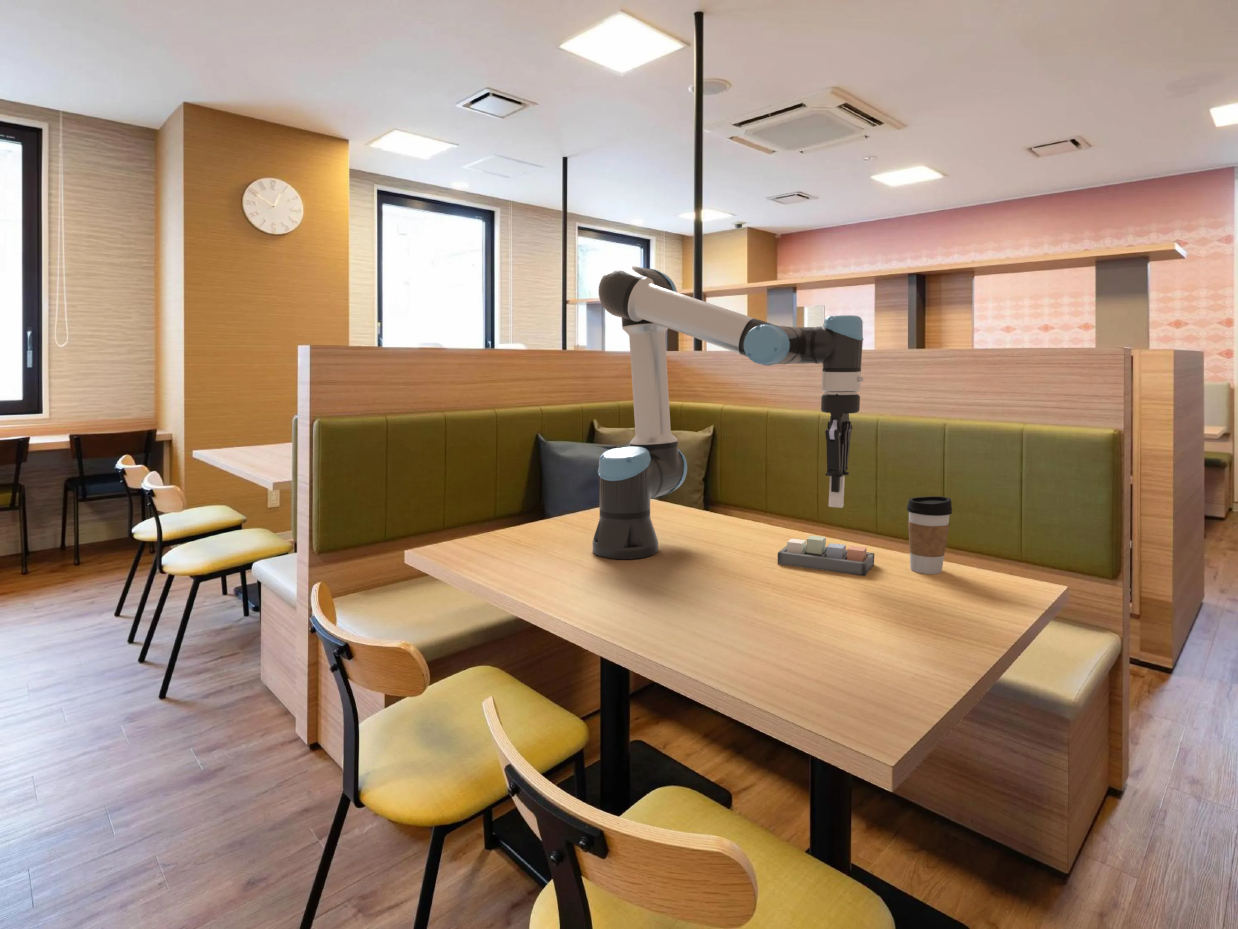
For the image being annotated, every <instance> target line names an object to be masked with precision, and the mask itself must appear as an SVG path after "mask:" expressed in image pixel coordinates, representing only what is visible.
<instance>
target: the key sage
mask: <svg viewBox="0 0 1238 929" xmlns="http://www.w3.org/2000/svg"><path fill="white" fill-rule="evenodd" d="M826 538H827V537H826V536H818V535H809V536H808V537H807V538H806V545H807V548H806V553H814V554H823V553H824V552H825V548H826V547H827V545H826V542H827V541H826Z"/></svg>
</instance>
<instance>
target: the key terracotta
mask: <svg viewBox="0 0 1238 929" xmlns="http://www.w3.org/2000/svg"><path fill="white" fill-rule="evenodd" d="M867 548H868V547H865V546H859V545H857V546H856V545H850V546H849V547H848V548H847V549H846V550H847V560H853V561H861V562H863V561H864V560H865V559H866V552H867V551H868V550H867Z"/></svg>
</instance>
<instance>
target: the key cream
mask: <svg viewBox="0 0 1238 929" xmlns="http://www.w3.org/2000/svg"><path fill="white" fill-rule="evenodd" d="M806 545H807V539H800V538H797V539H796V538H790V539H789V540H787V541H786V546H787V552H791V553H799V554H801V553H803V552H804V551H805V550H806Z"/></svg>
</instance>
